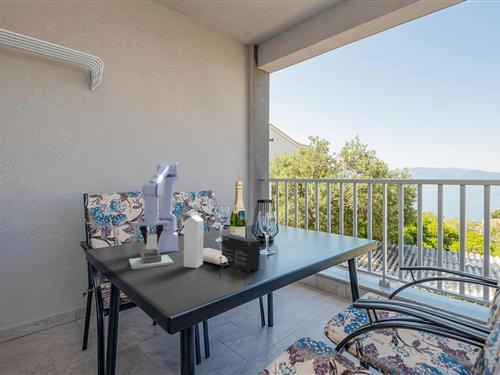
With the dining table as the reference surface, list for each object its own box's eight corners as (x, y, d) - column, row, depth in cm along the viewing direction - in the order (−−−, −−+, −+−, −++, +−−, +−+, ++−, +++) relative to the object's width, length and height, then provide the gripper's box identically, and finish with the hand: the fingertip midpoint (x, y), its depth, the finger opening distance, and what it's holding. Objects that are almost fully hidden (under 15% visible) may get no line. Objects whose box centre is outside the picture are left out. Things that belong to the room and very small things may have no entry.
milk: (183, 266, 113) (183, 213, 113) (190, 262, 119) (190, 211, 119) (197, 268, 112) (197, 213, 111) (203, 263, 118) (203, 212, 117)
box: (260, 269, 112) (260, 240, 112) (248, 273, 108) (249, 242, 107) (232, 260, 124) (232, 233, 124) (220, 263, 120) (221, 235, 119)
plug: (155, 246, 120) (155, 231, 120) (156, 248, 117) (157, 232, 117) (145, 247, 118) (145, 231, 118) (146, 249, 115) (147, 233, 115)
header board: (166, 256, 127) (167, 249, 127) (173, 264, 116) (173, 255, 116) (128, 261, 119) (128, 253, 119) (132, 269, 109) (132, 260, 109)
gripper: (134, 213, 110) (133, 247, 111) (171, 212, 117) (170, 244, 118) (132, 211, 116) (131, 243, 117) (167, 210, 123) (166, 240, 124)
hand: (151, 243), depth 118 cm, fingers closed on plug, 4 cm apart
